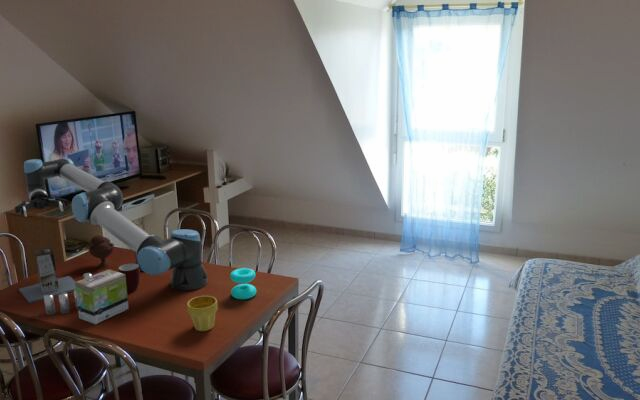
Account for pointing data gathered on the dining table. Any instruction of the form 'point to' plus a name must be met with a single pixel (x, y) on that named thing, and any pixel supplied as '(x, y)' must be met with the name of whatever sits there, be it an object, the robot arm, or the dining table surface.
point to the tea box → (101, 296)
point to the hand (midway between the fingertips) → (44, 210)
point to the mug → (131, 275)
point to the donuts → (243, 289)
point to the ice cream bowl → (101, 249)
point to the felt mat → (35, 292)
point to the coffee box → (47, 270)
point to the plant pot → (203, 312)
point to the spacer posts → (61, 300)
